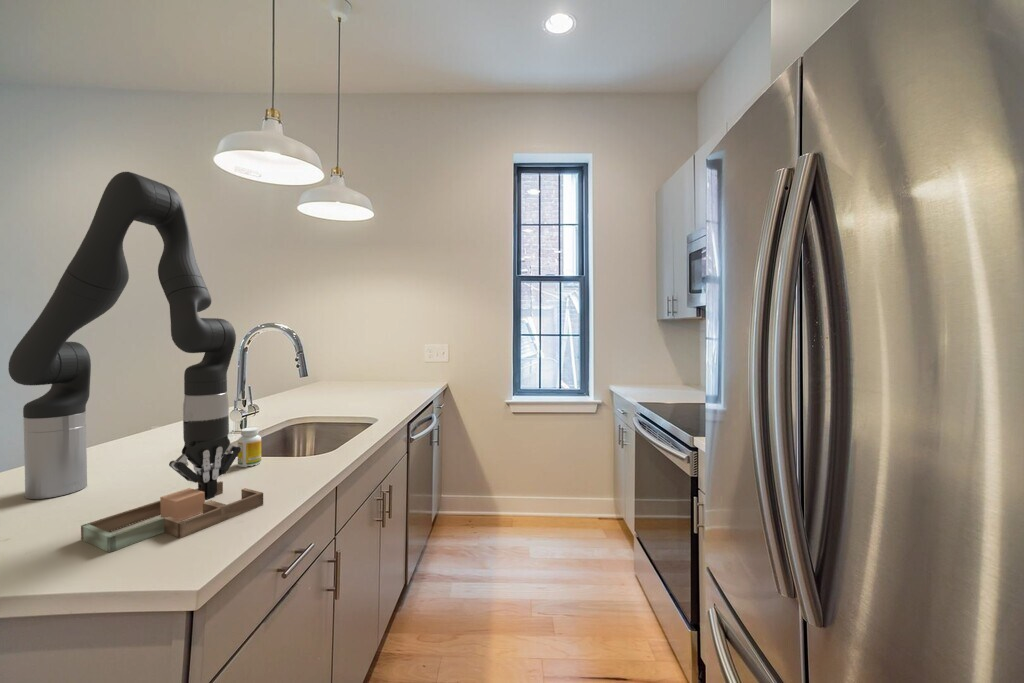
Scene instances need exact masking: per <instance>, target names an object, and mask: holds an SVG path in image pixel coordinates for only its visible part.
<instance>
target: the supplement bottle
mask: <svg viewBox="0 0 1024 683" xmlns="http://www.w3.org/2000/svg"><path fill="white" fill-rule="evenodd" d="M259 433H260V430H259V427H257V426H256V427H255V426H253V427H245V428H241V429H240V437H239V438H238V439H237V447H240V448H241V451H240V452H239V454H238V455H237V465H238V467H240V468H248V467H247V466H251V467H253V466H252V465H256V464H258V465H260V464H261V463H262V437H261V435H258V434H259ZM259 463H260V464H259ZM256 466H257V465H256Z"/></svg>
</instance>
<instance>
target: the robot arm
mask: <svg viewBox="0 0 1024 683" xmlns="http://www.w3.org/2000/svg"><path fill="white" fill-rule="evenodd" d="M134 221H135V222H138V223H142V224H146V225H149V226H150V225H151V226H154V227H155V229H156V230H157V232H158V233H159V235H160V237H161V239H162V243H163V250H162V254H161V256H160V258H159V262H158V265H157V266H158V267H157V276H158V281H159V283H160V286H161V288H162V290H163V292H164V296H165V297H166V300H167V302H168V305H169V320H170V337H171V340H172V341H173V344H174V345H175V346H176V347H177V348H178V349H180V351H182V352H184V353H186V354H188V353H189V354H202V353H204V355H203V357H202V360H201V361H200V362H198V363H196V364H192V365H190V366H188V367H186V369H185V370H184V376H183V377H184V379H183V386H184V387H183V389H184V392H183V393H184V396H183V405H182V416H183V417H182V424H183V425H182V430H183V441H184V446H183V447H182V450H181V455H180V456H179V457H177V458H176V459H175V460H171V461H170V462H169V463H168V465H169V467H170V468H172V470H174V471H175V473H178V474H179V476H180V477H183V479H185V480H186V481H188V482H192V483H195V484H196V483H197V489H198V490H199V491H203V492H205V501H207V500H208V501H209V500H212V499H214V498H215V496H216V495H215V494H216V493H217V482H218V478H219V477H220V476H222V475H225V474H226V473H228V471H229V469H230V468H231V466H232V464H234V461H235V460H236V459H237V458H238V454H239V452H240V451H241V448H240V447H238V446H236V445H233V444H231V441H230V439H229V433H230V421H229V420H230V417H229V416H230V415H229V414H230V412H229V411H230V410H229V409H230V407H229V406H230V405H229V398H228V380H227V379H228V377H227V376H228V375H227V374H228V373H227V372H228V370H229V367H230V364H231V360H232V357H233V353H234V350H235V347H236V343H237V334H236V331H235V329H234V326H233V325H232V323H230V321H228V320H226V319H224V318H218V317H217V318H216V317H215V318H214V317H213V318H212V317H200V316H199V314H198V313H200V312H202V311H205V310H207V309H209V308H210V307H211V304H212V298H211V294H210V292H209V290H208V287H207V284H206V282H205V280H204V278H203V276H202V273H201V272H200V268H199V266H198V263H197V259H196V257H195V253H194V248H193V243H192V239H191V238H192V237H191V234H190V229H189V224H188V220H187V214H186V210H185V207H184V204H183V201H182V198H181V197H180V194H179V193H178V192H177V191H176V190H175V189H174V188H173V187H170V186H169V185H166V184H164V183H162V182H159V181H156V180H154V179H151V178H148V177H146V176H144V175H140V174H137V173H135V172H132V171H121V172H119V173H117V174H115V175H114V176H113V177H112V178H110V181H109V182H108V183H107V185H106V187H105V189H104V191H103V193H102V195H101V197H100V200H99V203H98V205H97V208H96V210H95V214H94V216H93V219H92V220H91V222H90V226H89V227H88V230H87V232H86V234H85V236H84V238H83V240H82V241H81V244H80V245H79V247H78V249H77V250H76V253H75V255H74V256H73V258H72V259H71V261H70V262H69V263H68V265H67V267H66V269H65V270H64V272H63V274H62V275H61V277H60V279H59V281H58V283H57V285H56V287H55V290H54V291H53V293H52V295H51V297H50V298H49V299H48V302H47V303H46V305H45V306H44V308H43V309H42V311H41V313H40V314H39V316H38V317H37V319H36V320H35V322H34V323H33V324H32V325H31V326H30V328H29V329H28V330H27V332H26V333H25V334H24V336H23V337H22V338H21V339H20V341H19V342H18V344H16V347H15V348H14V349H13V351H12V353H11V355H10V357H9V361H8V374H9V376H10V378H11V380H13V382H15V383H17V384H19V385H22V386H44V385H50V389H49V390H48V391H46V393H44V394H43V395H42V396H39V397H38V398H35V399H33V400H31V401H29V402H27V403H25V404H24V405H23V409H22V410H23V411H22V415H23V416H22V417H23V418H22V420H23V447H24V448H23V451H24V454H23V456H24V490H25V491H24V493H25V494H24V497H25V498H26V499H29V500H41V499H49V498H54V497H61V496H64V495H69V494H72V493H75V492H78V491H80V490H83V489H85V488H87V486H88V457H87V456H88V454H87V451H88V450H87V414H86V413H87V407H86V406H87V403H88V401H89V399H90V390H91V389H90V388H91V372H92V371H91V370H92V363H91V362H92V361H91V356H90V353H89V351H88V349H87V348H86V346H85V345H83V344H82V343H80V342H78V341H68V340H69V338H70V337H71V336H72V335H74V334H75V333H76V332H77V331H79V330H80V329H82V328H83V327H85V326H86V325H88V324H90V323H92V322H93V321H95V320H96V319H98V318H100V317H101V316H103V315H105V314H106V312H108V311H109V310H111V309H112V308H113V307H114V305H116V303H117V302H118V300H119V298H120V297H121V296H122V293H123V291H124V290H125V288H126V287H127V284H128V282H129V279H130V278H129V277H130V274H129V268H128V264H127V260H126V256H125V252H124V240H125V237H126V235H127V232H128V231H129V228H130V226H131V224H132V223H133V222H134ZM189 462H190V463H191V464H192V466H193V470H192V469H191V468H190V467H188V466H189Z"/></svg>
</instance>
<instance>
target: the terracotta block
mask: <svg viewBox="0 0 1024 683" xmlns="http://www.w3.org/2000/svg"><path fill="white" fill-rule="evenodd" d="M195 489H196V488H191V487H189V488H185V489H181V490H178V491H176V492H173V493H170V494H167V495H163V496H160V499H159V501H160V506H161V514H160V518H161V517H164V516H169V517H172V518H175V519H178V520H181V521H184V520H187V519H190V518H193V517H195V516H198V515H201V514H203V503H204V502H206V500H205V492H203V491H199V490H195Z"/></svg>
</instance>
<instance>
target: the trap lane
mask: <svg viewBox="0 0 1024 683" xmlns="http://www.w3.org/2000/svg"><path fill="white" fill-rule="evenodd" d="M223 486H224V481H221V480H220V481H217V493H216V494H215V496H218V495H221V494H223V493H224V487H223ZM194 489H195V490H198V488H194ZM240 493H241V498H240V499H239V500H236V501H233V502H231V503H228V504H226V503H222V502H220V501H219V502H218V501H216V500H213V499H209V500H208V501H207V500H206V501H205V502H204V503H203V513H200V514H198V515H195V516H192V517H190V518H187V519H184V520H182V521H181V520H178V519H175V518H172V517H169V516H164V517H161V506H160V500H156V501H154V502H151V503H150V502H149V503H147V504H144V505H141V506H138V507H136V508H135V507H134V508H133V509H128V510H125V511H123V512H119V513H116V514H113V515H110V516H107V517H104V518H100V519H97V520H95V521H91V522H87V523H85V524H82V525H80V540H81V539H82V540H81V541H83V540H84V541H83V542H85V541H86V542H85V543H87V542H88V543H87V544H90V545H92V546H95V547H96V548H99V549H101V550H103V551H105V552H108V553H113V552H115V551H118V550H120V549H123V548H126V547H128V546H131V545H134V544H137V543H139V542H142V541H144V540H147V539H149V538H153V537H154V536H157V535H160V534H162V533H166V534H168V535H171V536H174V537H177V538H180V539H181V538H184V537H186V536H188V535H191V534H194V533H197V532H199V531H202V530H204V529H207V528H209V527H211V526H214V525H217V524H219V523H221V522H224V521H226V520H228V519H232V518H234V517H236V516H238V515H239V516H240V515H241V514H243V513H246V512H249V511H251V510H254V509H256V508H258V506H259V507H260V506H264V492H262V491H259V490H254V489H251V488H242V489H241V492H240ZM156 516H157V517H158V516H160V517H159V518H156V519H153V520H151V521H147V522H144V523H141V524H138V525H135V526H133V527H130V528H127V529H125V530H122V531H119V532H116V533H111V532H112V531H111V530H113V531H115V530H114V529H116V530H118V529H117V528H119V529H121V528H120V527H122V528H124V527H123V526H125V527H127V526H126V525H128V526H130V525H129V524H131V525H133V524H132V523H134V524H136V523H135V522H137V523H139V522H138V521H140V522H142V521H141V520H143V521H145V520H148V519H151V518H154V517H156ZM150 517H151V518H150ZM147 518H148V519H147ZM144 519H145V520H144ZM108 531H110V532H108Z"/></svg>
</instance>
